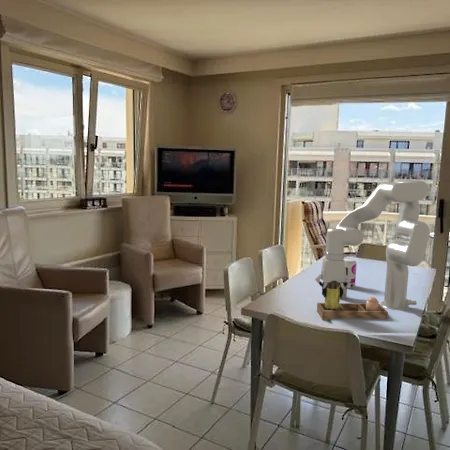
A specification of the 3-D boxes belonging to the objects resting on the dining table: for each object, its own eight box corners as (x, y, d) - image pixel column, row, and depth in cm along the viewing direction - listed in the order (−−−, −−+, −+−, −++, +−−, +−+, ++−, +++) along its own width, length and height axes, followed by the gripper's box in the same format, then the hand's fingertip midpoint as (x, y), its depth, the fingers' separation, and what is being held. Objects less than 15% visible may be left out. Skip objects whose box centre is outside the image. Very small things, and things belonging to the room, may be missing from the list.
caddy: (378, 312, 197) (378, 303, 196) (387, 321, 186) (387, 312, 186) (316, 311, 197) (317, 302, 196) (322, 320, 186) (322, 311, 185)
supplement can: (357, 286, 236) (359, 259, 234) (350, 289, 230) (352, 262, 228) (344, 283, 242) (345, 257, 240) (336, 286, 236) (338, 259, 234)
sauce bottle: (340, 313, 188) (343, 268, 185) (326, 313, 188) (328, 268, 185) (336, 308, 194) (338, 265, 191) (322, 308, 194) (324, 265, 191)
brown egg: (375, 312, 194) (376, 295, 193) (379, 316, 189) (380, 299, 188) (364, 312, 194) (365, 295, 193) (367, 316, 189) (368, 298, 188)
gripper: (351, 255, 191) (349, 294, 194) (312, 254, 191) (310, 293, 194) (356, 258, 184) (354, 299, 187) (316, 258, 184) (314, 299, 186)
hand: (332, 296), depth 190 cm, fingers closed on sauce bottle, 6 cm apart
